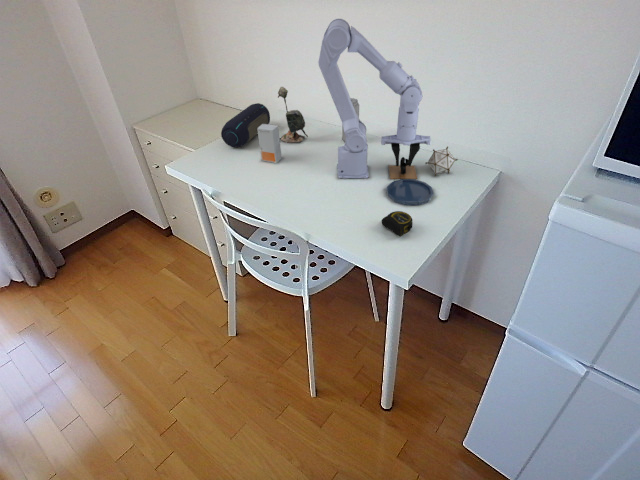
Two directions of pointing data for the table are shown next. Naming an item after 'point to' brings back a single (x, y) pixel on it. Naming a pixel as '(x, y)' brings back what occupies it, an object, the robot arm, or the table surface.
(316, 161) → the table surface
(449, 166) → the game die
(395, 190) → the plate
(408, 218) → the tape measure
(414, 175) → the cork coaster
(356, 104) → the energy drink can
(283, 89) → the plant with pod
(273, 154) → the cosmetic box
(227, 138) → the portable speaker
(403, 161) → the wireless earbuds
